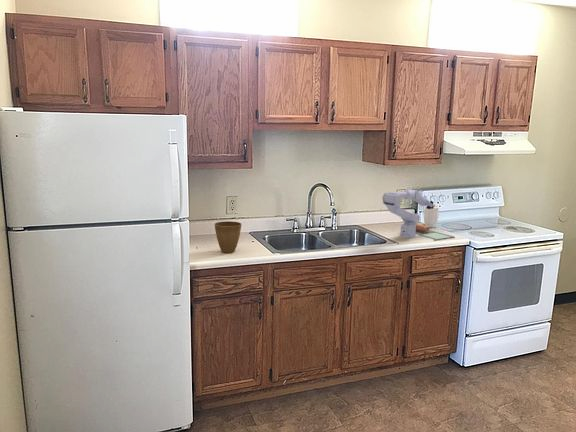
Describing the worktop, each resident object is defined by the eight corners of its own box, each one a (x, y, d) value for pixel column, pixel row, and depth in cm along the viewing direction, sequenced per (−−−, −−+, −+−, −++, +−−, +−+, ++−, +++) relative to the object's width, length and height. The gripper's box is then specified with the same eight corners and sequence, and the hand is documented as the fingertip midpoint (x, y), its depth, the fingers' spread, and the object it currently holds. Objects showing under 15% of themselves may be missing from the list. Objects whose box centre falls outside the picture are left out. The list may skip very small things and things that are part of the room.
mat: (435, 240, 306) (435, 239, 305) (402, 231, 330) (402, 230, 330) (454, 237, 315) (454, 236, 314) (421, 228, 339) (421, 227, 339)
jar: (438, 228, 341) (440, 207, 338) (423, 227, 342) (425, 206, 339) (436, 225, 351) (438, 205, 348) (421, 224, 353) (423, 204, 350)
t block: (420, 234, 320) (421, 228, 319) (407, 230, 330) (407, 224, 329) (433, 232, 326) (433, 226, 325) (420, 228, 336) (420, 223, 335)
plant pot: (245, 253, 268) (246, 225, 265) (220, 256, 260) (220, 227, 257) (234, 246, 280) (234, 219, 277) (210, 249, 273) (210, 222, 270)
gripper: (431, 197, 311) (440, 204, 321) (413, 189, 321) (422, 196, 331) (426, 207, 312) (434, 213, 322) (408, 198, 322) (417, 205, 332)
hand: (428, 205), depth 327 cm, fingers open, 7 cm apart
